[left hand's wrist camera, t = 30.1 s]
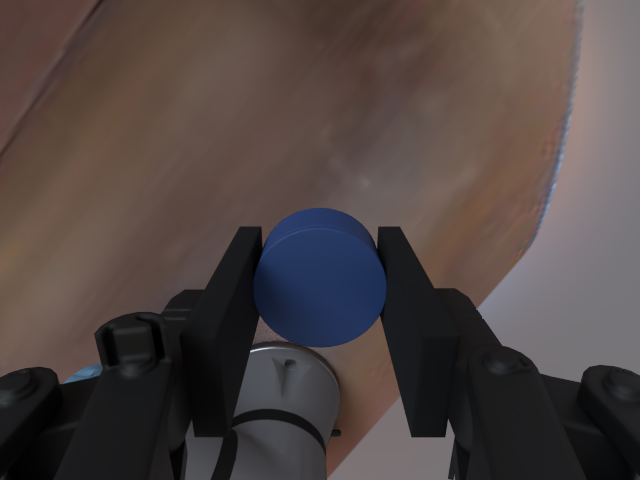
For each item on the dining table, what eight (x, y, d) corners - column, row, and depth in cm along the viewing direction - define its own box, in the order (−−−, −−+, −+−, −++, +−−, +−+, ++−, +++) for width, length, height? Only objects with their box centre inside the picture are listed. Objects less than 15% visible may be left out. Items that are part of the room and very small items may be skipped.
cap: (252, 300, 15) (242, 334, 13) (274, 194, 13) (266, 213, 11) (360, 322, 15) (366, 358, 13) (392, 222, 14) (405, 245, 12)
